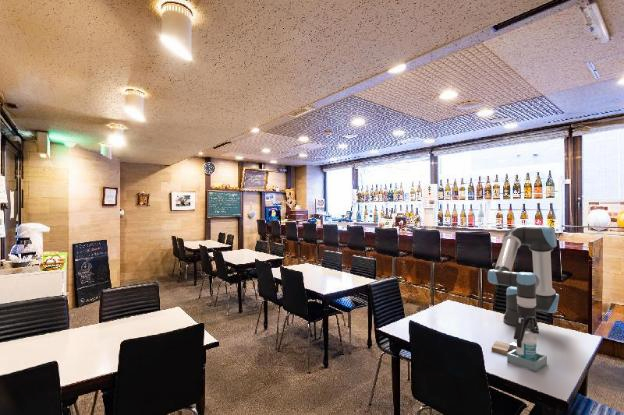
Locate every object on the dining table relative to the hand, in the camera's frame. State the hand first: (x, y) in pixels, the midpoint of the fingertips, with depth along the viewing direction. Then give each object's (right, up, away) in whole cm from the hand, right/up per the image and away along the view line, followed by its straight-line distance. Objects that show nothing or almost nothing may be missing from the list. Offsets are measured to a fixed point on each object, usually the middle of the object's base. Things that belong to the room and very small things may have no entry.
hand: (526, 350), depth 149 cm
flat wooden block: (-3, -7, +14) cm, 16 cm away
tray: (0, -6, 0) cm, 6 cm away
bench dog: (0, -6, +9) cm, 11 cm away
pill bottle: (0, -5, 0) cm, 5 cm away
